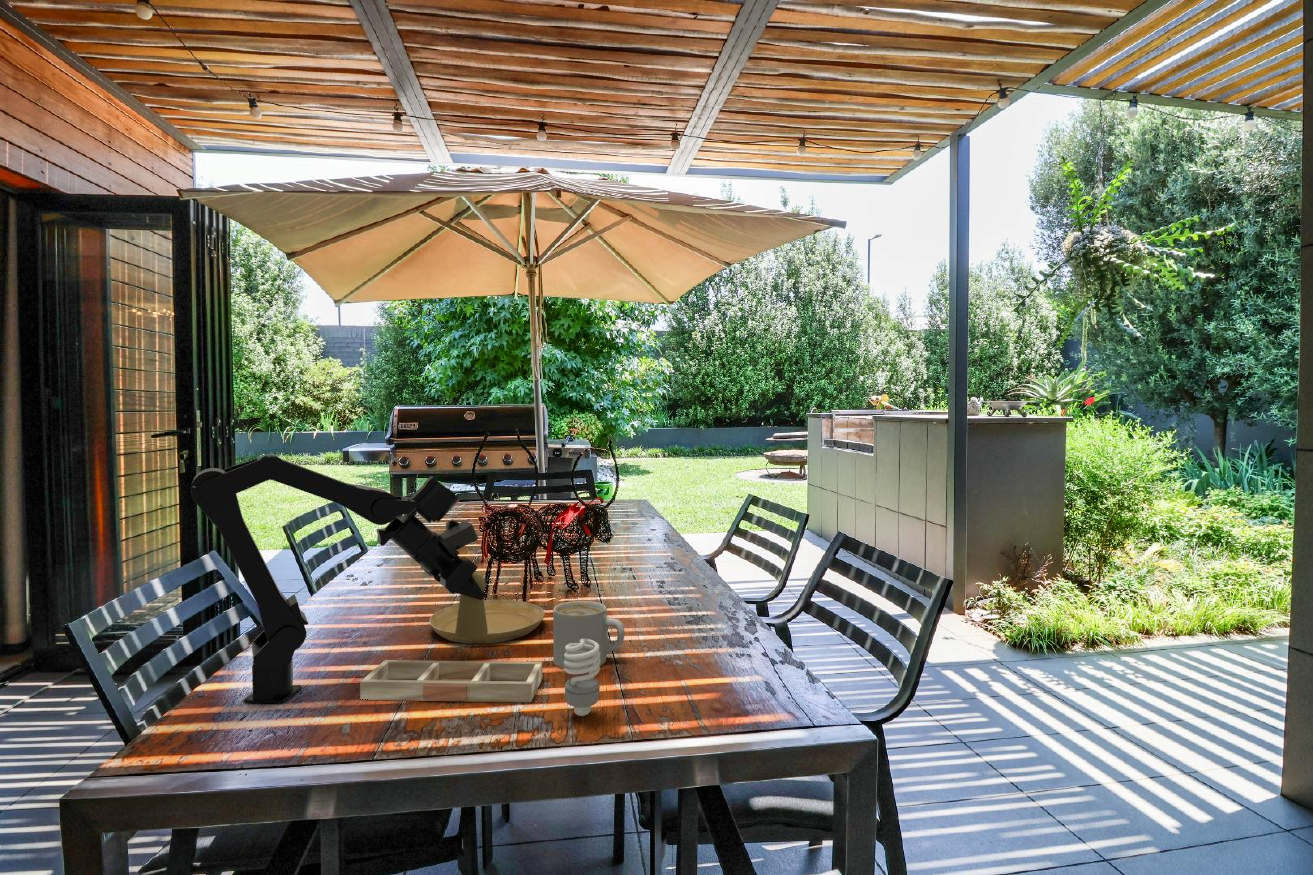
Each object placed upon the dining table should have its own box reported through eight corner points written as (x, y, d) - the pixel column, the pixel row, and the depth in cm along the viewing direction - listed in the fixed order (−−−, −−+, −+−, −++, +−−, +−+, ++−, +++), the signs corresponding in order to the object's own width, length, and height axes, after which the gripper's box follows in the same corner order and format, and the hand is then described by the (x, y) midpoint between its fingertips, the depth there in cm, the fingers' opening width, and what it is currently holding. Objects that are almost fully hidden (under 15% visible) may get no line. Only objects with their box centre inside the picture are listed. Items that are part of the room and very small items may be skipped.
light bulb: (582, 705, 115) (582, 631, 115) (608, 715, 112) (608, 639, 111) (556, 717, 111) (556, 640, 110) (582, 727, 107) (582, 648, 107)
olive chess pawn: (479, 639, 132) (479, 579, 132) (449, 636, 133) (449, 577, 133) (493, 629, 138) (493, 572, 137) (464, 627, 139) (464, 570, 139)
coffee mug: (543, 665, 133) (543, 612, 132) (568, 648, 142) (568, 598, 142) (610, 675, 128) (610, 619, 128) (631, 656, 138) (631, 605, 137)
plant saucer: (508, 654, 140) (507, 637, 139) (405, 640, 147) (404, 625, 147) (563, 619, 162) (563, 605, 162) (471, 609, 170) (471, 595, 170)
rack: (530, 703, 116) (530, 684, 116) (359, 700, 117) (359, 682, 117) (542, 678, 126) (542, 661, 126) (385, 676, 127) (384, 659, 127)
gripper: (465, 515, 125) (525, 571, 131) (437, 502, 140) (492, 553, 147) (419, 564, 121) (483, 620, 127) (395, 546, 137) (453, 596, 143)
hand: (478, 594), depth 136 cm, fingers closed on olive chess pawn, 5 cm apart
